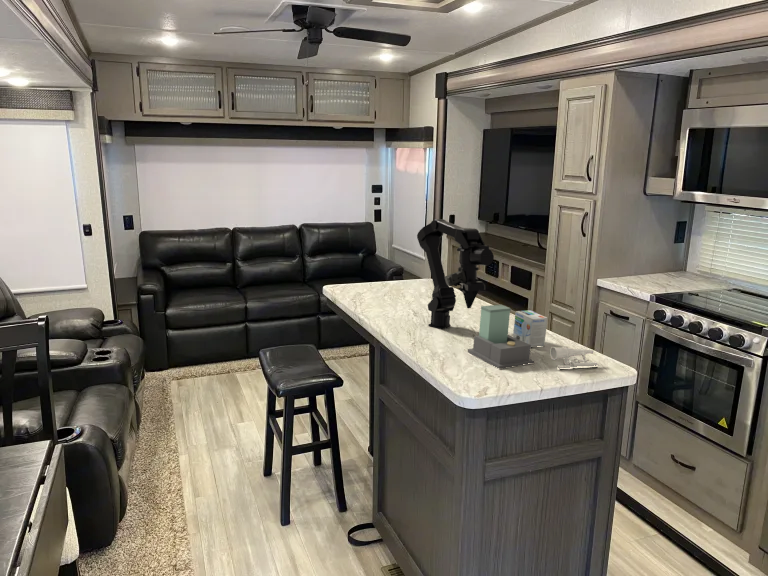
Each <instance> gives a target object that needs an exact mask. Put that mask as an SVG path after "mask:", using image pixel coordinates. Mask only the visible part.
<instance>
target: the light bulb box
mask: <svg viewBox="0 0 768 576" xmlns="http://www.w3.org/2000/svg"><path fill="white" fill-rule="evenodd" d="M513 324H514V325H513V332H512V337H514V338H516V339H518V340H520V341H523V342H525V343H527V344H529V345H531V347H537V346H544V347H545V343H546V342H545V341H546V335H547V326H548V317H547V316H544V315H542V314H539V313H537V312H536V311H534V310H531V309H530V310H516V311H515V316H514V323H513ZM537 348H538V347H537Z"/></svg>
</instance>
